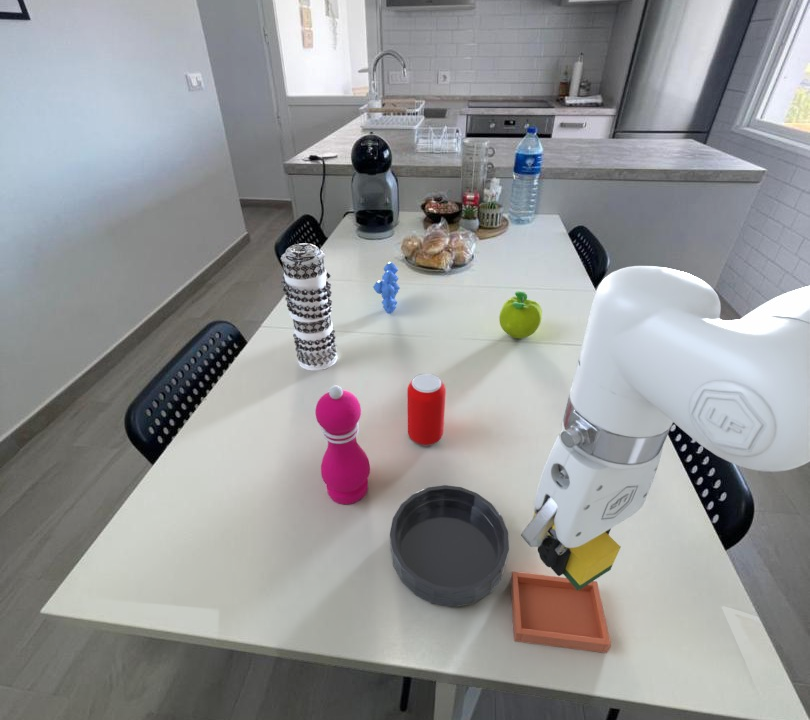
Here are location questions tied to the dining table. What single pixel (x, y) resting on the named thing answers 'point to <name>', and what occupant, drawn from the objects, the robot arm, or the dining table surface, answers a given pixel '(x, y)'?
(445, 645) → the dining table surface
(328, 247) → the dining table surface
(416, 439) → the beverage can
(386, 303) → the grapes
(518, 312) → the fruit
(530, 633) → the soap dish
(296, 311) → the decorative candle
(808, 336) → the robot arm
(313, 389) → the dining table surface
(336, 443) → the pepper mill
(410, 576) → the pan
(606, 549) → the sponge
